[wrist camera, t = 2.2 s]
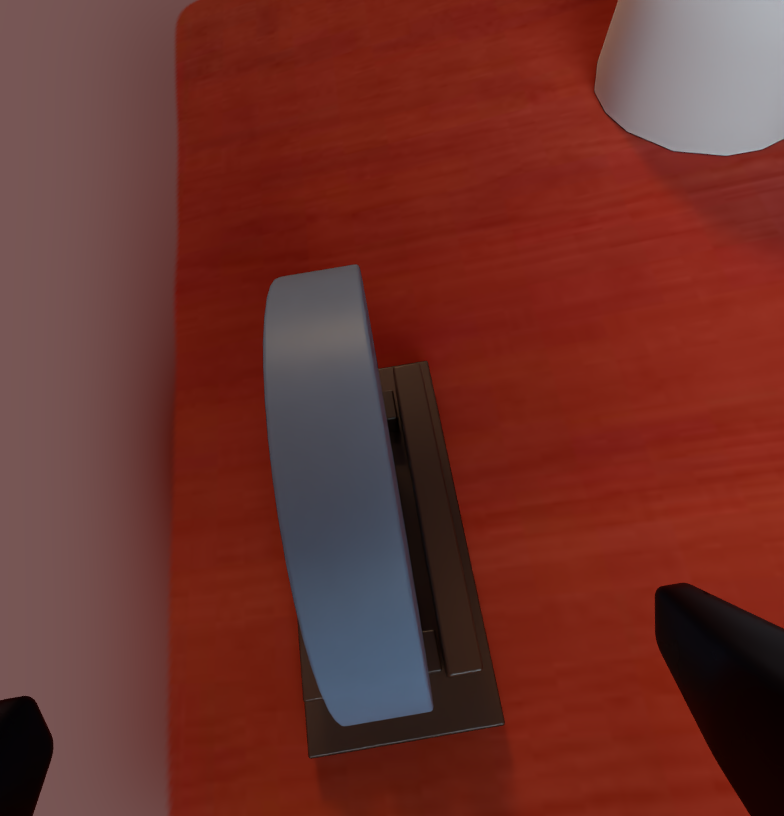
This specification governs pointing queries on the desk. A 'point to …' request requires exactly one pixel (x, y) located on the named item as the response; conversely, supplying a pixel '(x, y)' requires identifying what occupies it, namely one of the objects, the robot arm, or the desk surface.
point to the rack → (423, 587)
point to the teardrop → (696, 73)
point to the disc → (341, 499)
